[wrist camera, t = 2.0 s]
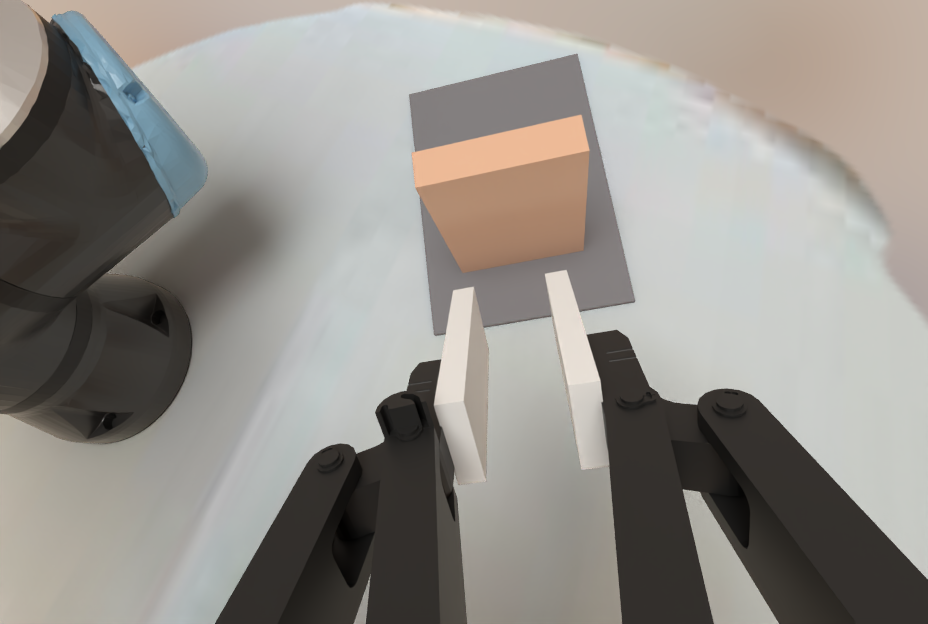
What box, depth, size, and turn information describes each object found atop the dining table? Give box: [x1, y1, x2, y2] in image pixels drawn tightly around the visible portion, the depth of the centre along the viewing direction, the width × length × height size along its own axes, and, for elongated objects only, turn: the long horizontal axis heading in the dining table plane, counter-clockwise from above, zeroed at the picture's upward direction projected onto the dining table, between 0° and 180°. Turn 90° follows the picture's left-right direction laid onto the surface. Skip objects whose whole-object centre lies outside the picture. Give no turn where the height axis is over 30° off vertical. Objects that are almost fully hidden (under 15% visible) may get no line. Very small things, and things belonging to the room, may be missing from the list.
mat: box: [409, 54, 635, 336], centre depth 45 cm, size 24×16×1 cm, turn 7°
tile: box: [412, 115, 590, 273], centre depth 36 cm, size 3×10×14 cm, turn 97°
